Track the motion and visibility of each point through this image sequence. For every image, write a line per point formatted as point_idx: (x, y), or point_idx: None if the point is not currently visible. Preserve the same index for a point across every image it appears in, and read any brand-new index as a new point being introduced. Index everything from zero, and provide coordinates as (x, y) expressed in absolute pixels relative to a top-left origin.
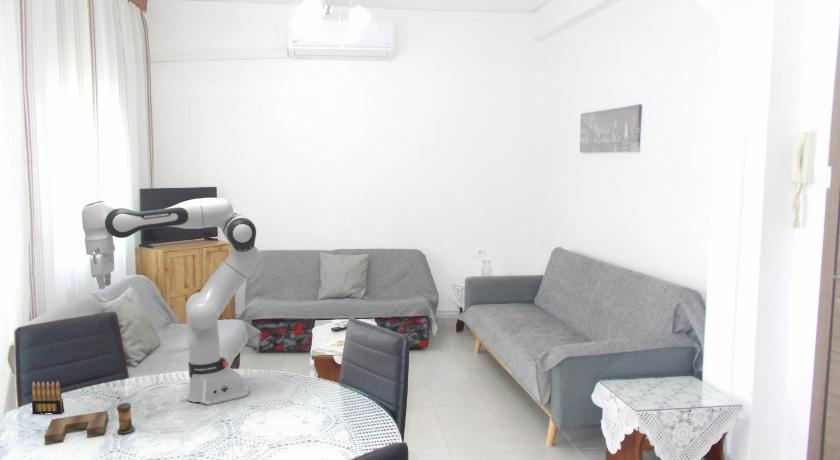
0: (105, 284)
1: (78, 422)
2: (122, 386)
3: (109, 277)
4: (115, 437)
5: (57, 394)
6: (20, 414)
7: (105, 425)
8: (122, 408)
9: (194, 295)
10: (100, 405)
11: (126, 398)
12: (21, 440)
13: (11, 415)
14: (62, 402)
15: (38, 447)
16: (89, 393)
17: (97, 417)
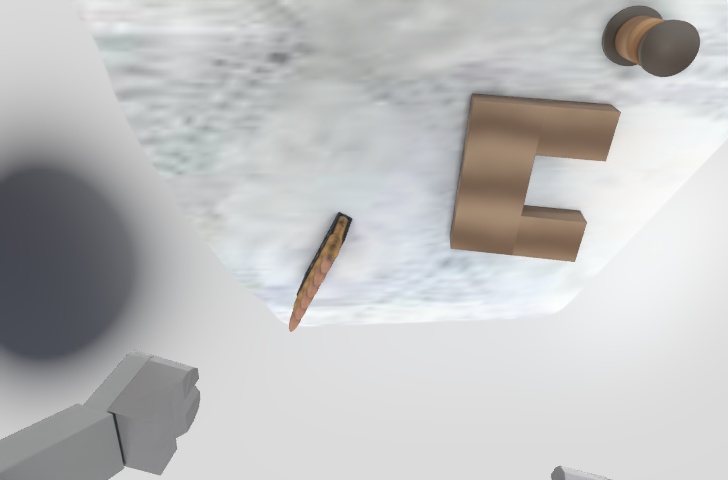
0: (186, 423)
1: (528, 183)
2: (164, 44)
3: (49, 458)
4: None
5: (337, 253)
6: None
7: (562, 103)
8: (694, 55)
9: None
10: (330, 116)
11: (299, 31)
12: (494, 295)
13: (301, 319)
14: (334, 228)
15: None
16: (201, 149)
17: (520, 130)
